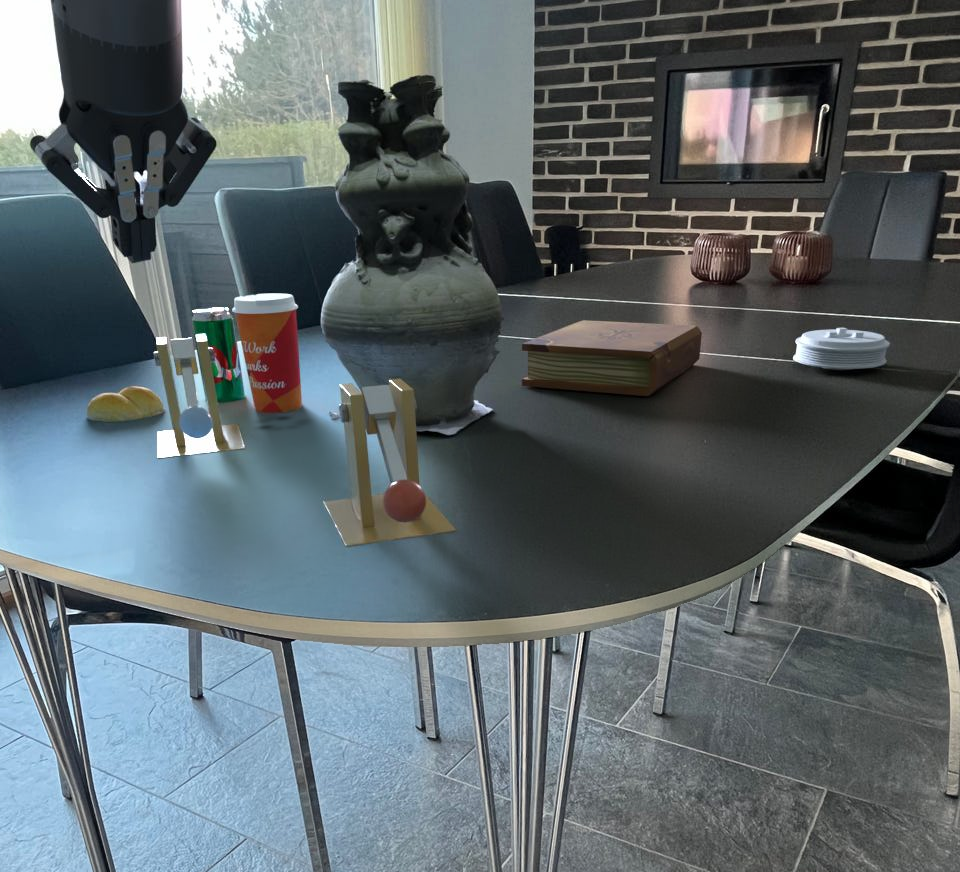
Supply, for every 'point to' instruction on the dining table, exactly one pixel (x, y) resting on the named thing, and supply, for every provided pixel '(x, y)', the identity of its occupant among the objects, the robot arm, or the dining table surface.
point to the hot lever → (391, 456)
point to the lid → (841, 349)
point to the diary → (612, 356)
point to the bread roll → (125, 405)
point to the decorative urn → (410, 259)
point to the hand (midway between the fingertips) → (136, 255)
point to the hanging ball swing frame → (176, 439)
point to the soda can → (221, 352)
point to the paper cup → (270, 350)
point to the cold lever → (190, 390)
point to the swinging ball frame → (364, 511)
